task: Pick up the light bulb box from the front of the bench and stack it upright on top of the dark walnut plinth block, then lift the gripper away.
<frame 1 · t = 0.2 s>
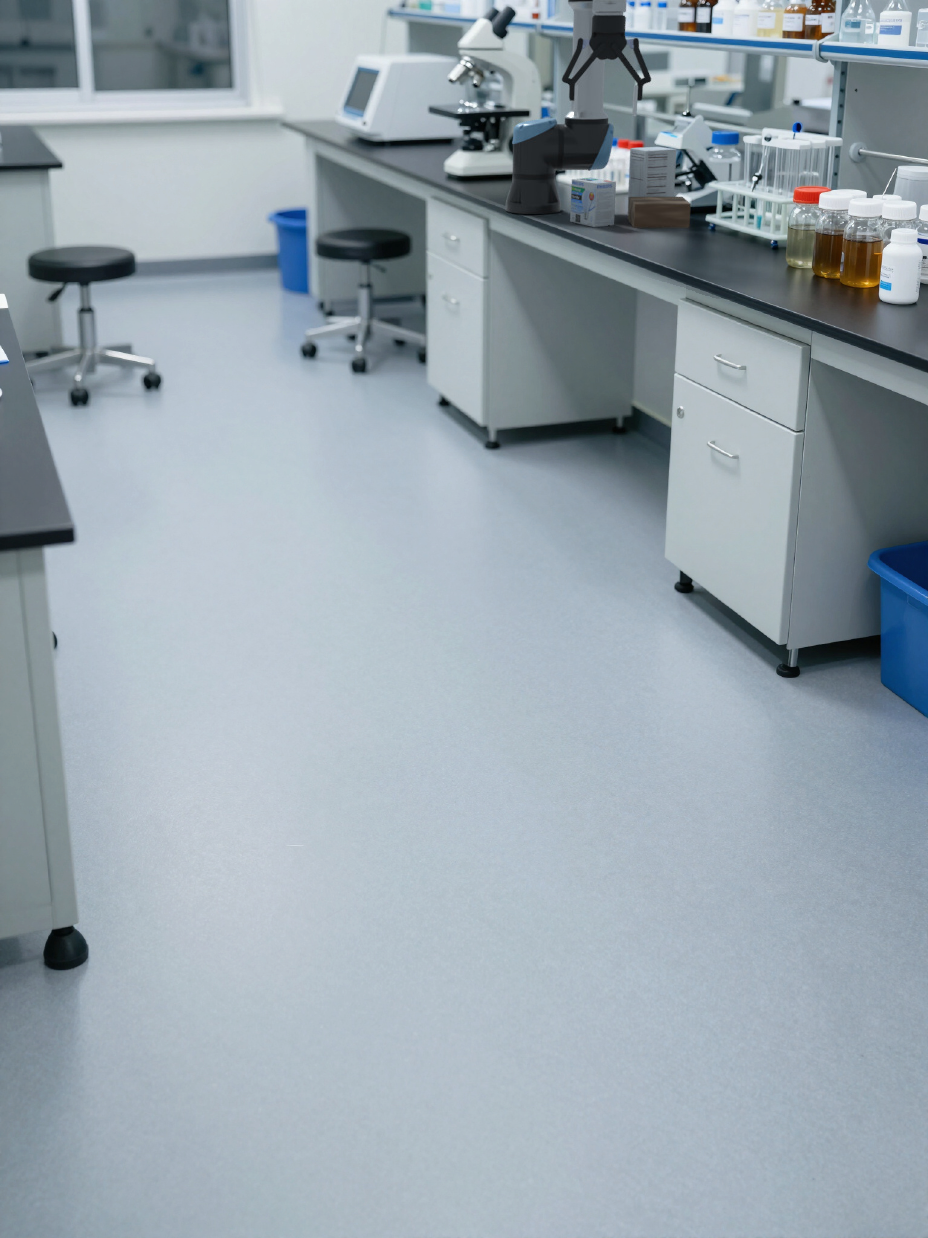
hand: (604, 116, 292), 28 cm above the worktop, fingers open, 13 cm apart
walnut plinth: (657, 224, 327), on the worktop
light bulb box: (592, 224, 327), on the worktop
supplement box: (649, 215, 341), on the worktop
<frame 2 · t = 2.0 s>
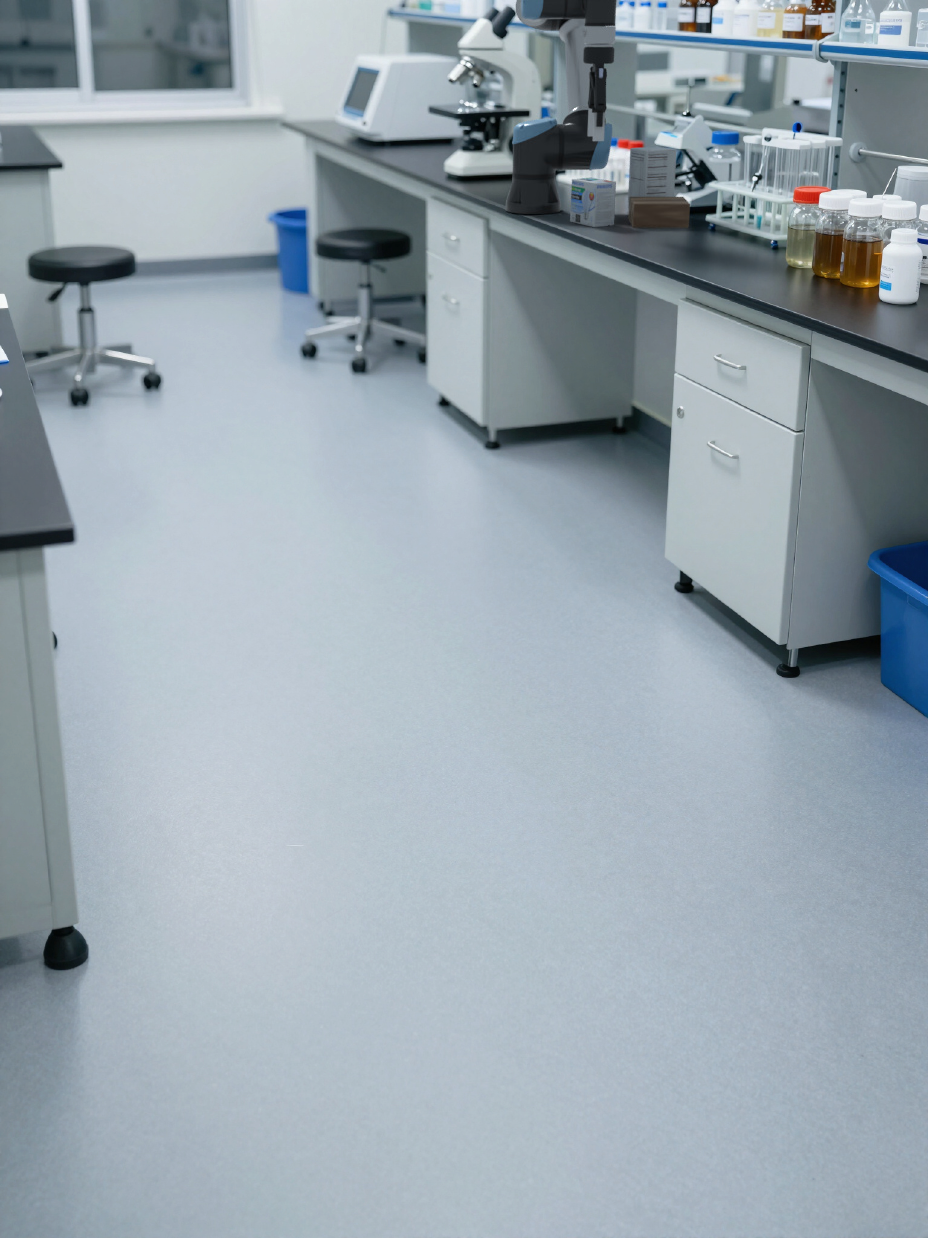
hand: (595, 138, 318), 21 cm above the worktop, fingers open, 13 cm apart
nothing on the worktop moved.
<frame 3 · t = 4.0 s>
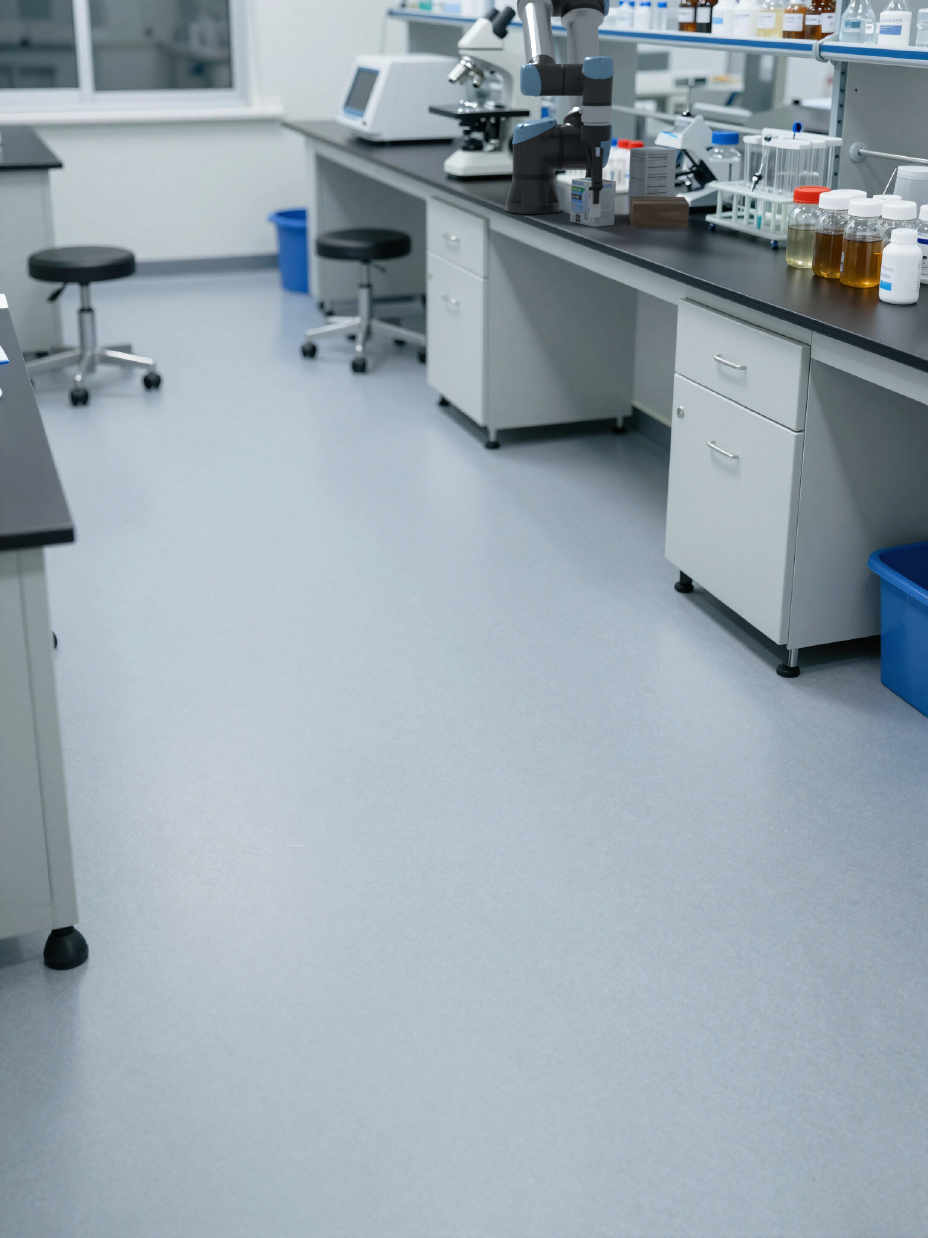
hand: (592, 213, 326), 2 cm above the worktop, fingers closed on light bulb box, 12 cm apart
light bulb box: (592, 224, 327), on the worktop, touching gripper
everything else where it was.
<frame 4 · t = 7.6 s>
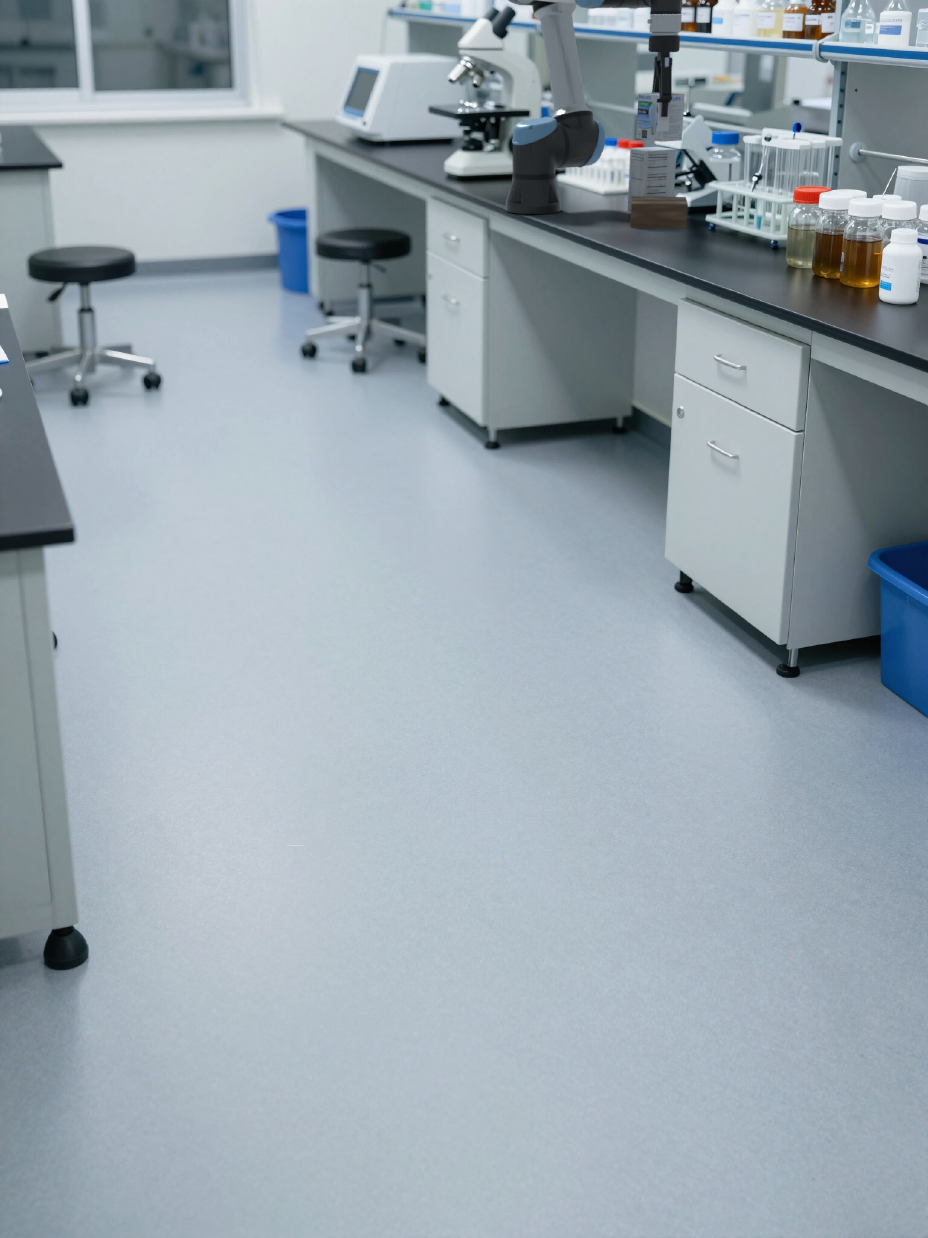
hand: (659, 129, 317), 23 cm above the worktop, fingers closed on light bulb box, 12 cm apart
light bulb box: (658, 140, 318), point 20 cm above the worktop, touching gripper
everything else where it was.
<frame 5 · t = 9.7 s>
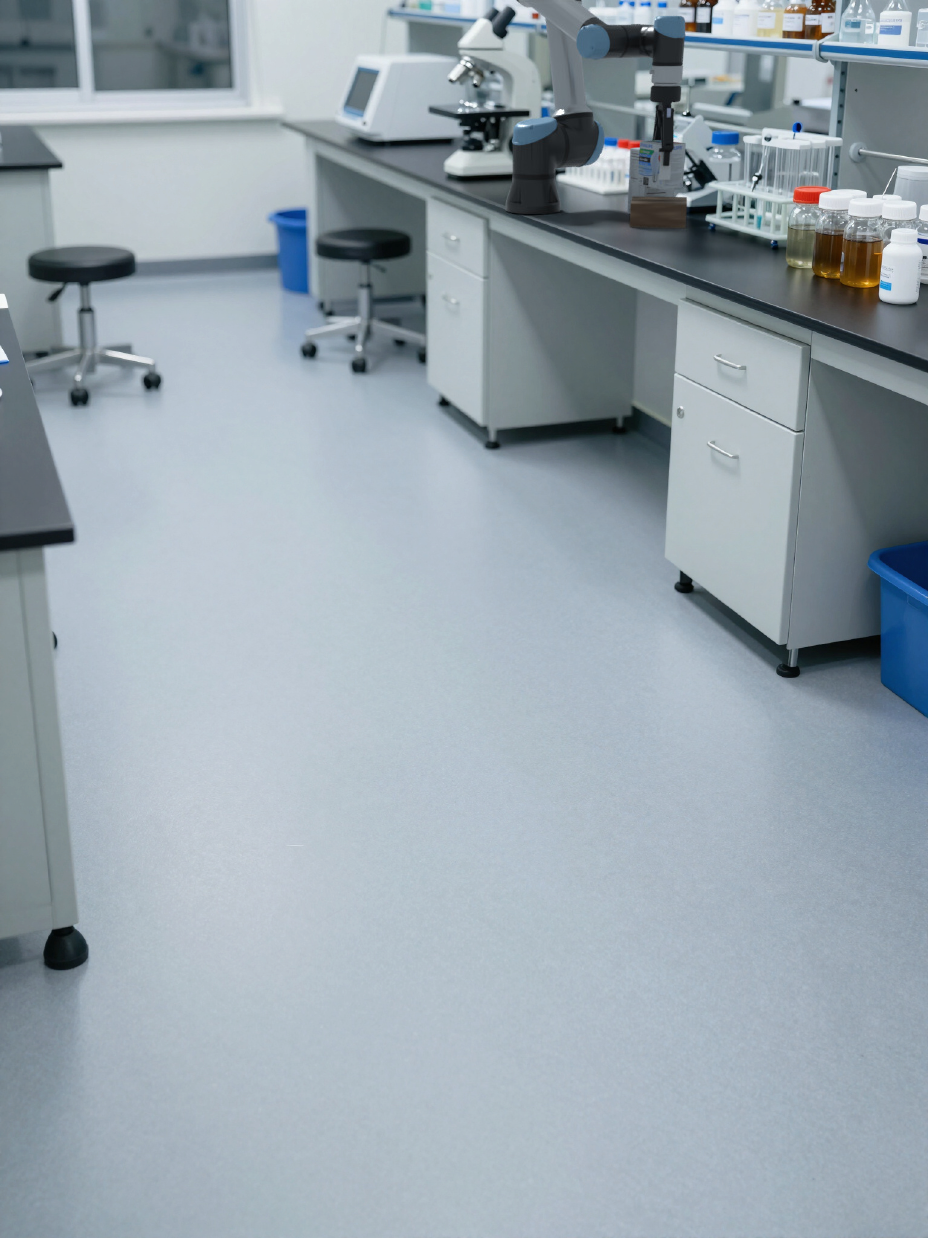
hand: (660, 176, 322), 11 cm above the worktop, fingers closed on light bulb box, 12 cm apart
light bulb box: (660, 187, 323), point 9 cm above the worktop, touching gripper
everything else where it was.
when the fingers open (10 cm above the worktop, at t = 11.1 s): light bulb box drops 2 cm, resting on walnut plinth.
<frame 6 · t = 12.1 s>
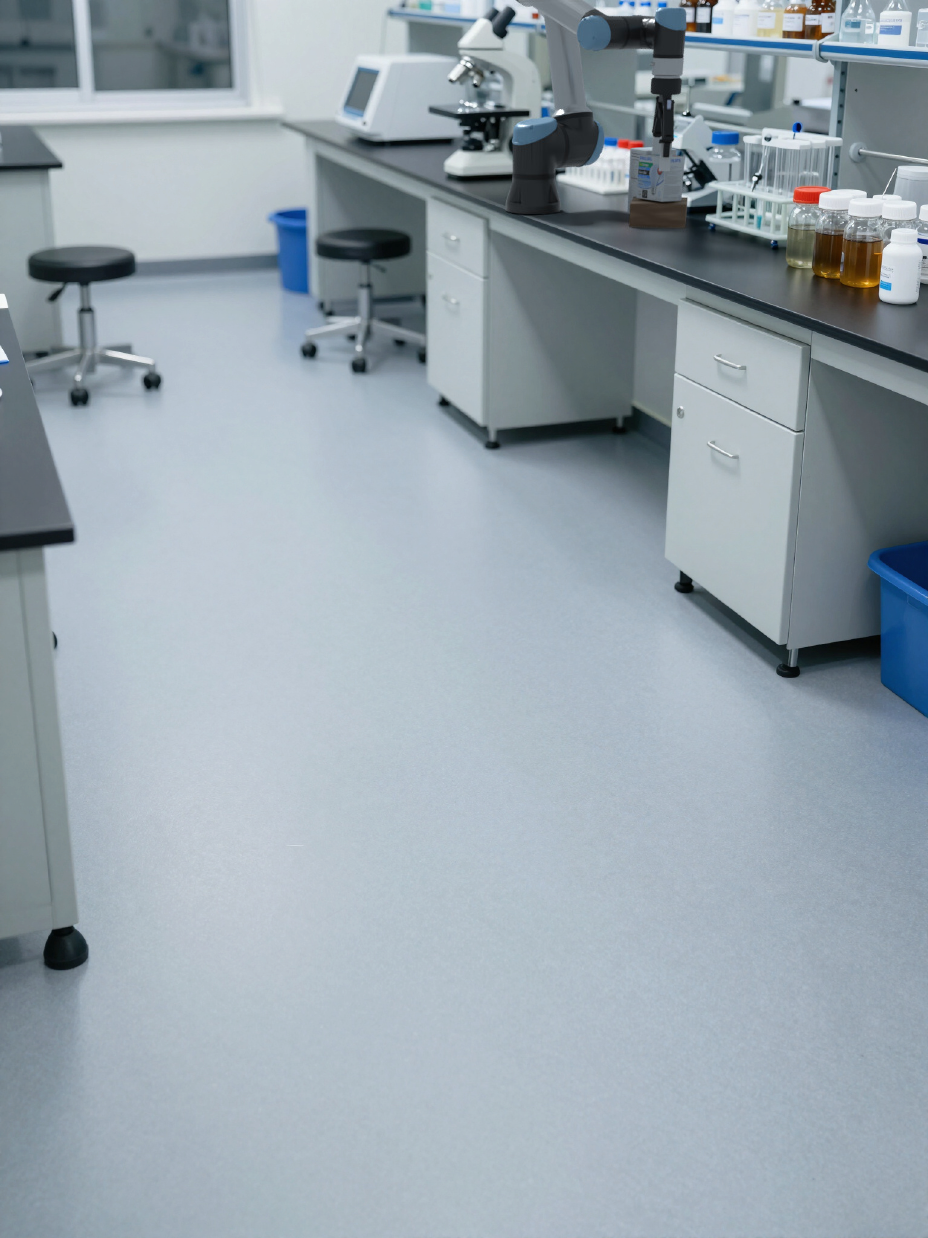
hand: (660, 167, 322), 14 cm above the worktop, fingers open, 13 cm apart
walnut plinth: (657, 224, 327), on the worktop, touching light bulb box
light bulb box: (658, 200, 324), point 6 cm above the worktop, touching walnut plinth
everything else where it was.
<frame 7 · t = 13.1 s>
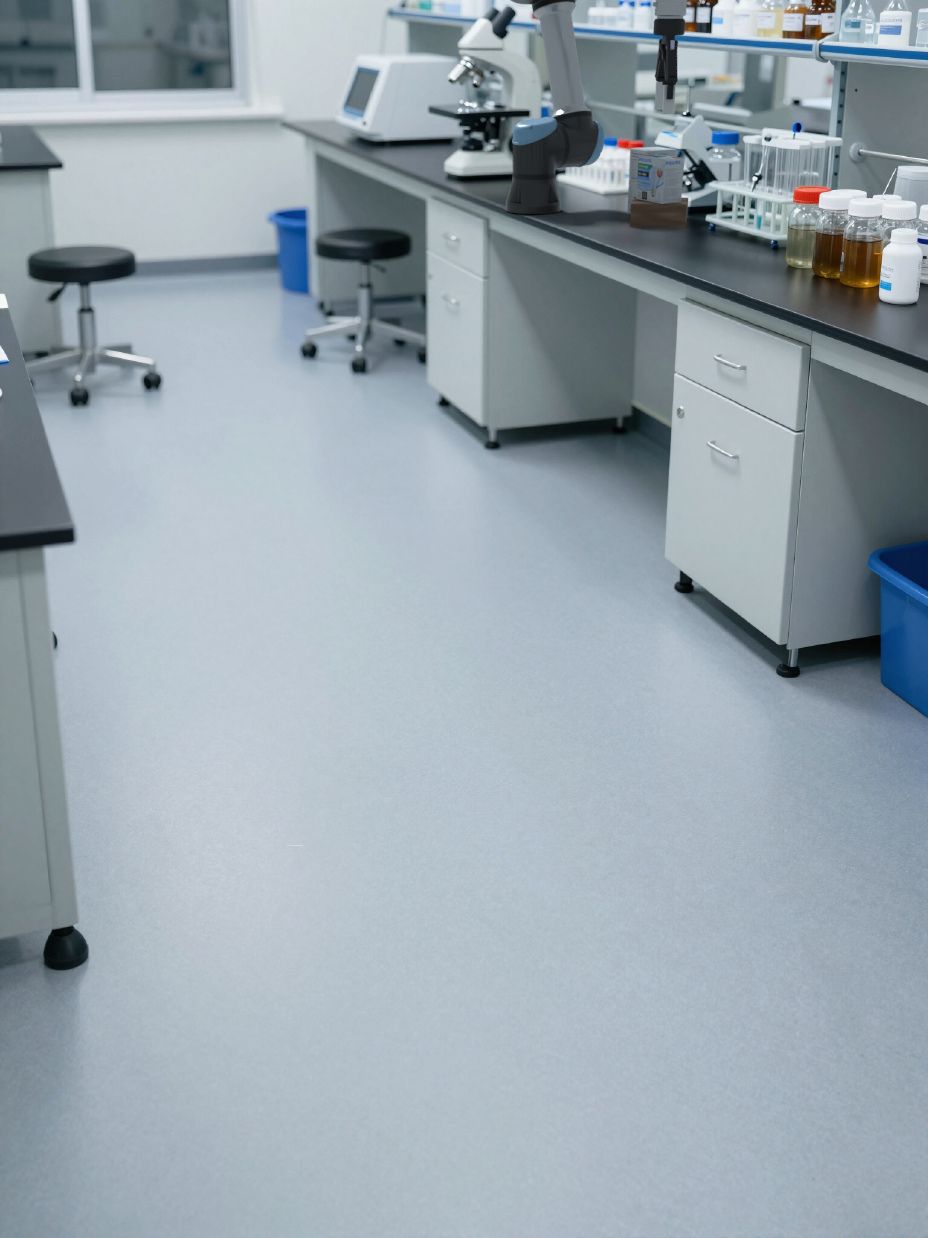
hand: (663, 111, 316), 27 cm above the worktop, fingers open, 13 cm apart
walnut plinth: (658, 224, 327), on the worktop
light bulb box: (658, 201, 324), point 5 cm above the worktop
everything else where it was.
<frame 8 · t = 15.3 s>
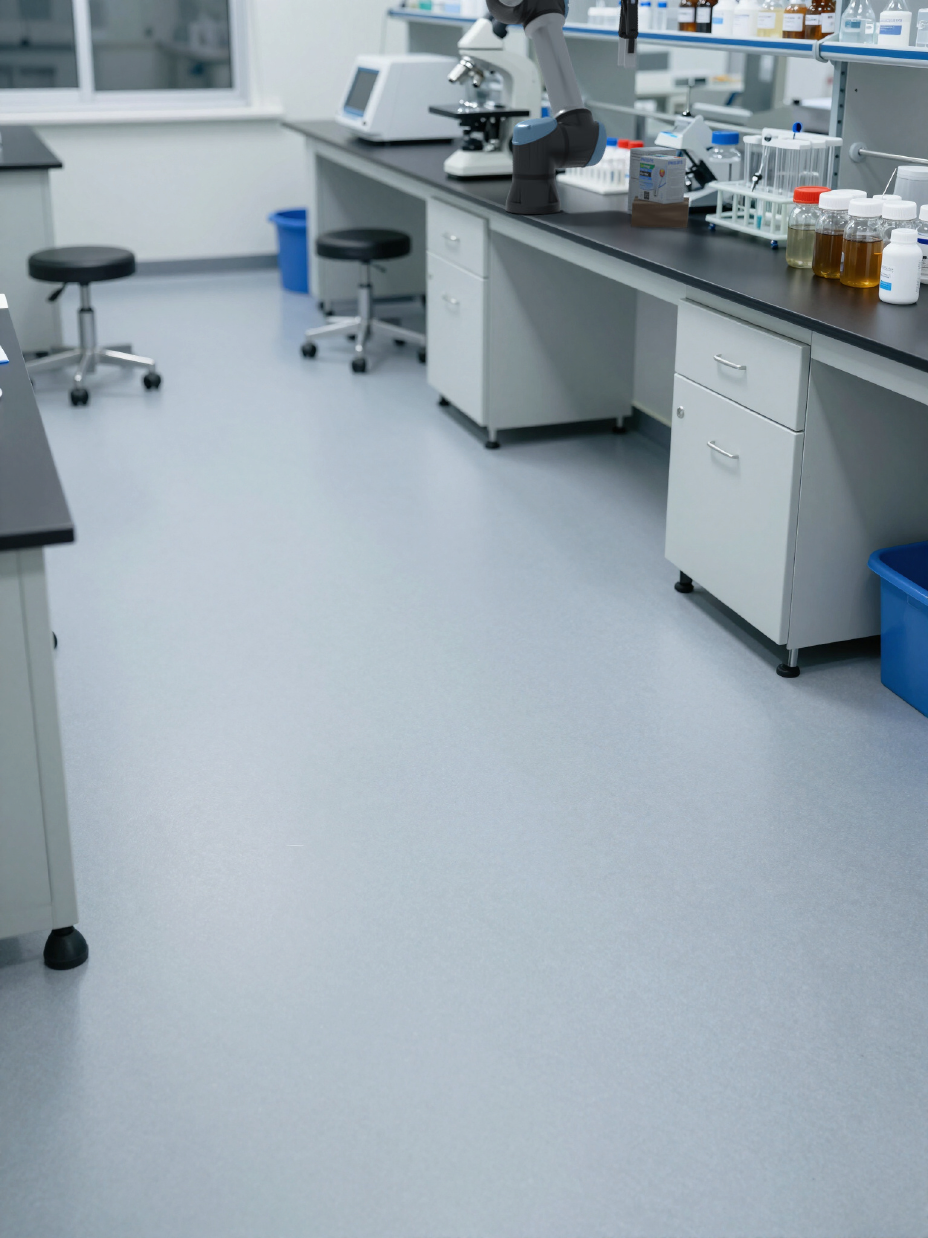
hand: (626, 66, 319), 37 cm above the worktop, fingers open, 13 cm apart
walnut plinth: (659, 224, 328), on the worktop, touching light bulb box
light bulb box: (660, 201, 325), point 5 cm above the worktop, touching walnut plinth
everything else where it was.
at the end: light bulb box inside the target area on the walnut plinth (0.7 cm from its centre), point 5.8 cm above the walnut plinth's base; light bulb box tilted 0°; walnut plinth moved 1.1 cm from its start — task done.
